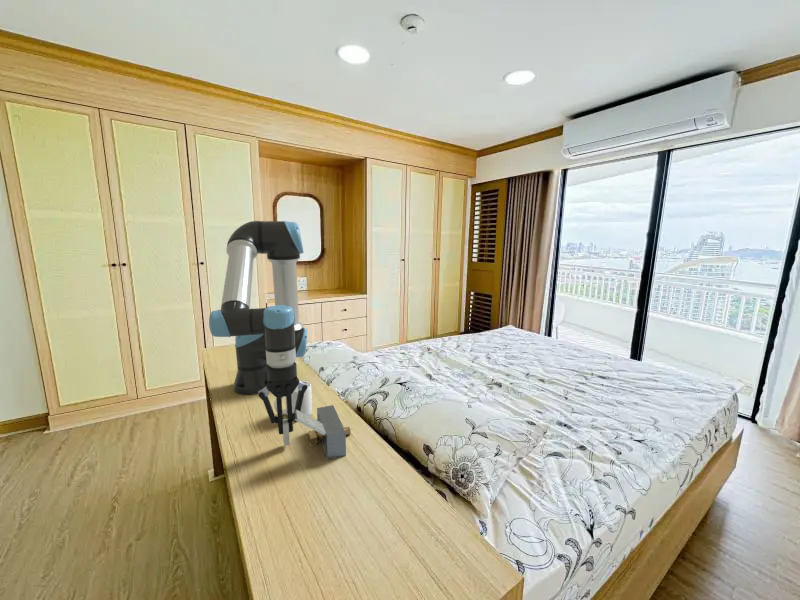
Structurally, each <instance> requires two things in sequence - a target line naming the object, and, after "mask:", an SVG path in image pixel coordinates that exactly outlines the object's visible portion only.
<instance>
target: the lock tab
mask: <svg viewBox="0 0 800 600" xmlns="http://www.w3.org/2000/svg"><path fill="white" fill-rule="evenodd" d="M294 414H295V419H296V420H295V421H296V422H298V423H300V424H302V425H304V426H305V427H307V428H310V429H311V430H315V432H317V433H321V434H323V435H325V433H326V432H325V429H324V427H323V424H322V423H320V422H319V421H317V420H316V419H315V418H313V417H311V416H307V415H306V414H304V413H302V412H300V411H298V410H296V409H295V410H294Z"/></svg>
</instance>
